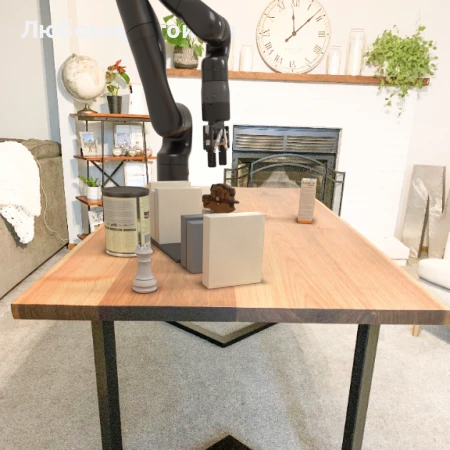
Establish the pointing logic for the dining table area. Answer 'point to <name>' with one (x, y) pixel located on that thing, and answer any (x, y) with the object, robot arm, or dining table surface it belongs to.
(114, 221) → the coffee can
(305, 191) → the supplement box
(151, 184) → the white books
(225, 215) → the white book
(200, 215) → the grey books
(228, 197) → the wooden carving
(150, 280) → the rook chess piece
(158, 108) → the robot arm
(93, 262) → the dining table surface
